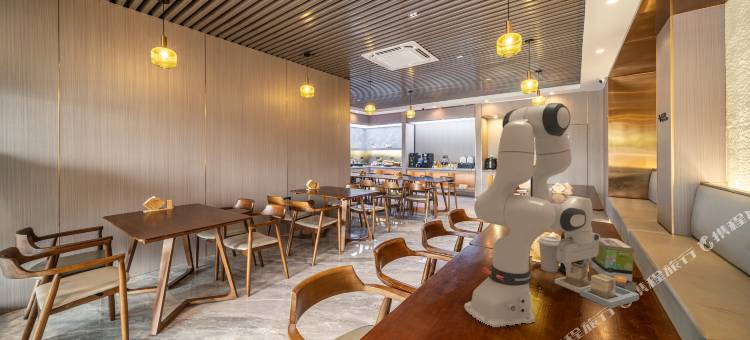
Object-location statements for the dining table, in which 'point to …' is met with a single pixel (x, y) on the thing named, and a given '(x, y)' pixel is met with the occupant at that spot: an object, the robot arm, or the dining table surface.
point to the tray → (563, 283)
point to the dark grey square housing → (627, 285)
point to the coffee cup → (549, 253)
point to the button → (620, 279)
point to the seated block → (603, 286)
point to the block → (577, 276)
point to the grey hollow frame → (620, 298)
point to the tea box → (614, 258)
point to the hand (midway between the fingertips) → (577, 270)
